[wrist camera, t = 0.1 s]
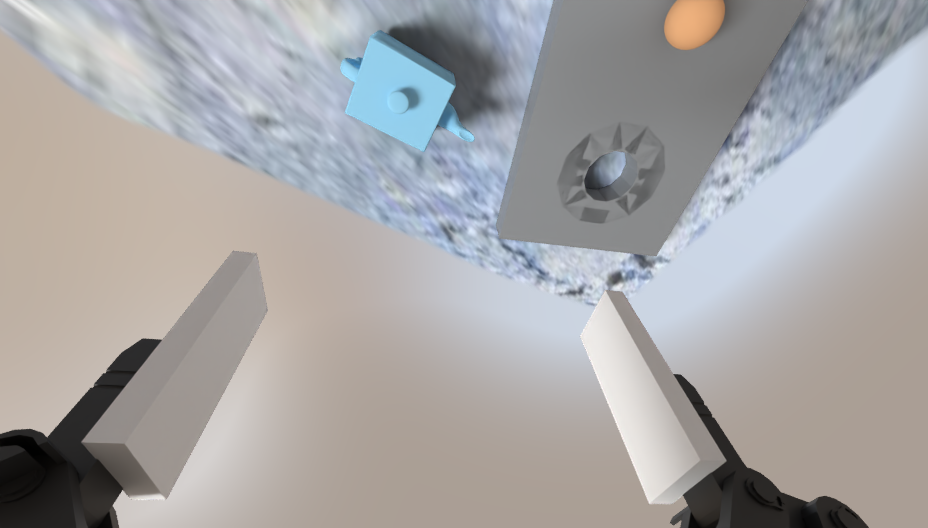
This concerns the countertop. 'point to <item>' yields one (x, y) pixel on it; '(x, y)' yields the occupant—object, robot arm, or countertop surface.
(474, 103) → the countertop surface
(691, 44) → the ball
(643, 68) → the plate
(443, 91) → the light blue teapot
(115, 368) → the robot arm
